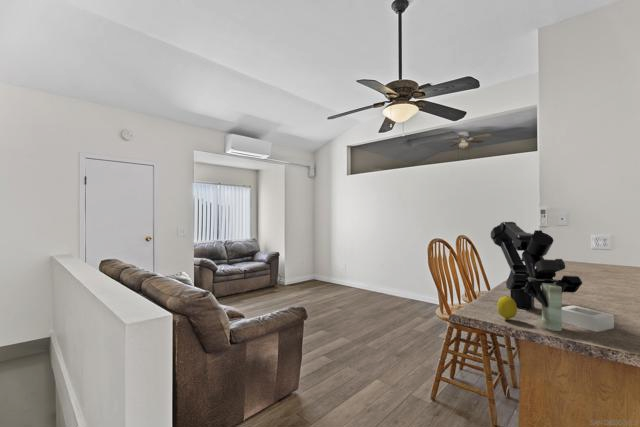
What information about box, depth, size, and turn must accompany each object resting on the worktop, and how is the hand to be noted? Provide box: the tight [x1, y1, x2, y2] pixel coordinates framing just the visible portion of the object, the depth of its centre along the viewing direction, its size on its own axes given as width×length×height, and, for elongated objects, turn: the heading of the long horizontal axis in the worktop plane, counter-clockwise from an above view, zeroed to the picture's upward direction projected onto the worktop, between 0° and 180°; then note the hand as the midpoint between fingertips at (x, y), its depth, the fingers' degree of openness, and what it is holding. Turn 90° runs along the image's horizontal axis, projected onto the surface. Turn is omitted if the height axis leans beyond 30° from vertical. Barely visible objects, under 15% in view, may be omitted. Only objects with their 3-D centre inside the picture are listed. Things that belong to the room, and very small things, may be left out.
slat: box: [541, 283, 563, 332], centre depth 91 cm, size 5×3×13 cm, turn 166°
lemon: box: [496, 295, 518, 321], centre depth 98 cm, size 6×6×8 cm
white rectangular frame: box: [562, 304, 615, 333], centre depth 94 cm, size 11×9×4 cm
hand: (553, 307), depth 90 cm, fingers closed on slat, 3 cm apart
